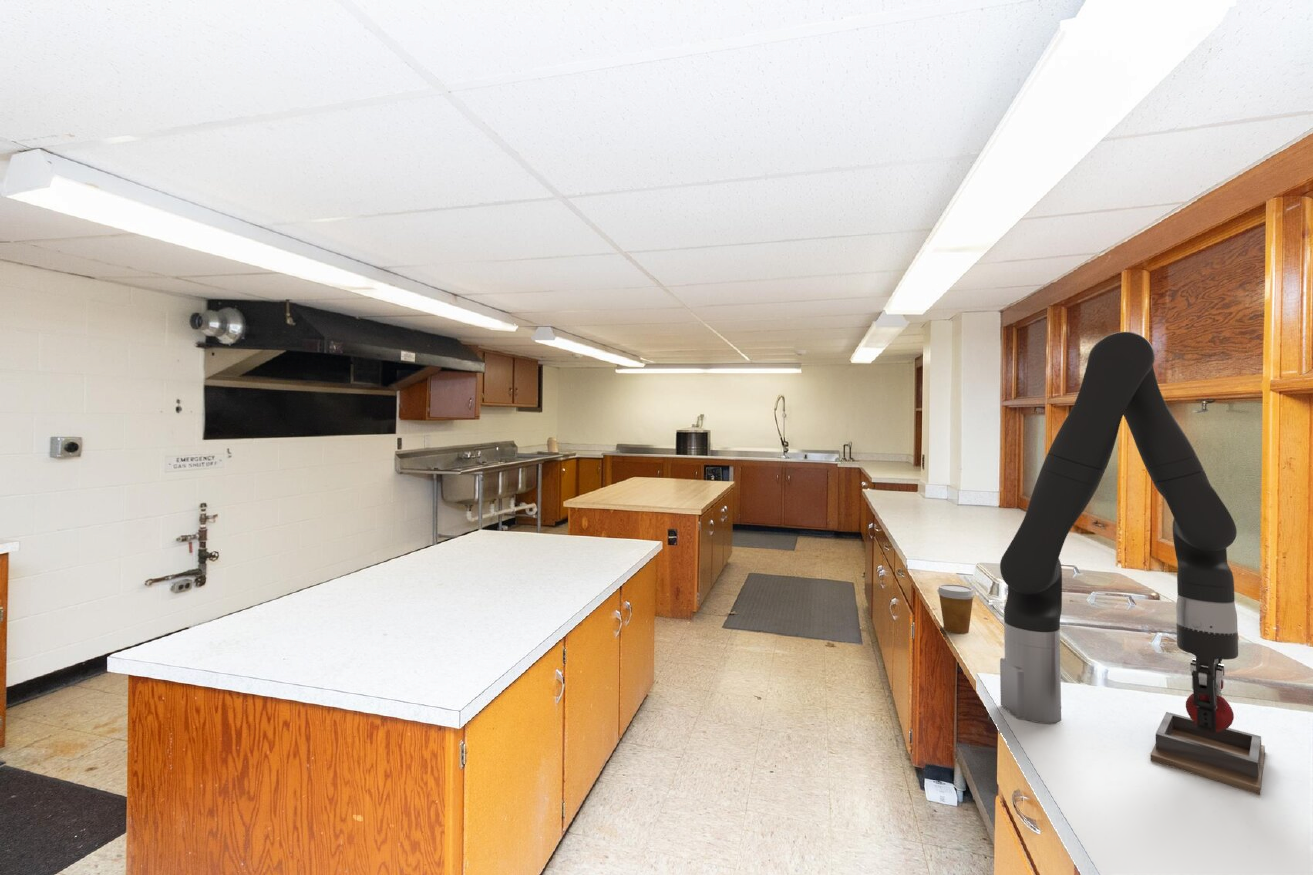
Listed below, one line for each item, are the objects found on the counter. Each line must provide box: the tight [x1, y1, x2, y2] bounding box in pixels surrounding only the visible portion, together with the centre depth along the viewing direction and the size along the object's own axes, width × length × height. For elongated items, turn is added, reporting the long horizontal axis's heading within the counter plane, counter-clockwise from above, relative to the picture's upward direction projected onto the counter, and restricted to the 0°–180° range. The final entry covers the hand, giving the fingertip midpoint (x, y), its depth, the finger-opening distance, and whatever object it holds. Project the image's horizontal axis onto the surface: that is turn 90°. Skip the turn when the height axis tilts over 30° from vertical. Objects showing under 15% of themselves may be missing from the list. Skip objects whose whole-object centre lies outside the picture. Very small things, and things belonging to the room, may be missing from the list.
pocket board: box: [1149, 711, 1266, 795], centre depth 97 cm, size 18×13×4 cm
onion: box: [1185, 693, 1235, 733], centre depth 96 cm, size 6×6×8 cm
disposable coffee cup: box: [936, 583, 976, 634], centre depth 163 cm, size 10×10×12 cm
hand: (1209, 723), depth 96 cm, fingers closed on onion, 6 cm apart
